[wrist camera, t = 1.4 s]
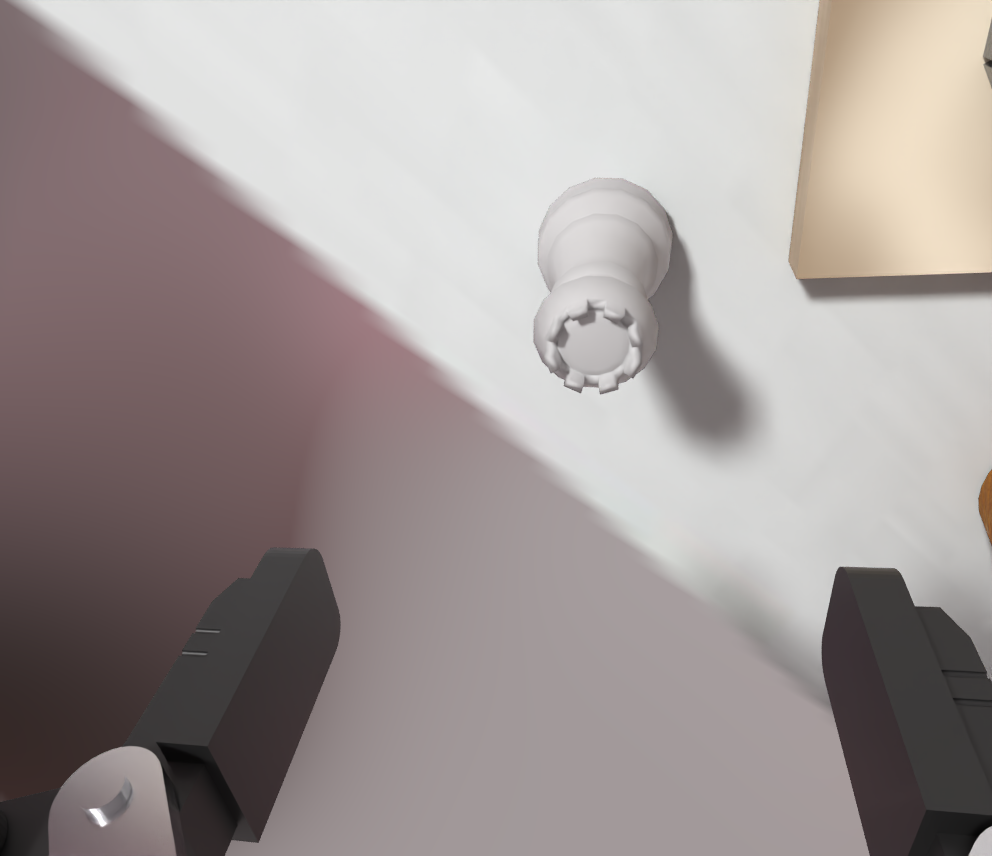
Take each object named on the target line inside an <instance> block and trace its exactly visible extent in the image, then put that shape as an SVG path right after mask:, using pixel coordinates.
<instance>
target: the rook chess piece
mask: <svg viewBox="0 0 992 856" xmlns="http://www.w3.org/2000/svg"><path fill="white" fill-rule="evenodd" d="M672 237H673V234H672V231H671V227H670V224H669V221H668V218H667V214H666V211H665V209H664V208H663V207H662V206H661V205H660V204H659V202H658V201H657V200H656V199H655V198H654V197H653V196H652V195H651V193H650V192H649V191H648V190H646V189H644V188H642V187H640V186H638V185H636V184H633V183H631V182H629V181H627V180H625V179H619V178H593V179H591V180H588V181H585V182H583V183H580V184H577V185H575V186H572V187H570V188H568V189H567V190H566V191H565V192H564V193H563V194H562V195H561V196H560V197H559V198H558V199H557V200H555V201H554V202H553V203H552V204H551V205H550V206H549V208H548V211H547V213H546V215H545V217H544V220H543V222H542V224H541V226H540V229H539V239H538V266H539V268H540V271H541V273H542V276H543V278H544V281H545V283H546V285H547V288H548V290H549V291H550V292H551V293H550V294H549V295H548V296H547V297H546V298H545V299H544V300H543V302H542V304H541V306H540V308H539V310H538V312H537V314H536V316H535V318H534V344H535V346H536V348H537V351H538V353H539V355H540V358H541V360H542V362H543V363H544V364H545V365H546V366H547V367H548V368H549V371H550V373H553V372H554V373H555V374H556V375H557V376H558V377H559V378H562V379H564V380H565V381H564V386H565V387H567V388H570V389H572V390H574V391H577V392H579V393H581V391H582V388H583V387H598V388H599V392H600V394H604V393H607V392H611V391H615V390H618V384H619V383H623V382H626V381H627V380H629V379H630V378H634V376H635V375H636V374H637V373H638V372H640V371H641V370H643V369H644V368H645V367H646V365H647V363H648V362H649V360H650V358H651V357H652V355H653V353H654V352H655V350H656V348H657V339H658V331H659V325H658V322H657V319H656V316H655V313H654V310H653V307H652V305H651V304H650V303H649V301H648V299H649V298H650V297H651V296H653V295H654V294H655V292H656V291H657V289H658V287H659V286H660V284H661V282H662V280H663V279H664V277H665V275H666V273H667V272H668V270H669V262H670V254H671V246H672Z"/></svg>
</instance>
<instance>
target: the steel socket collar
mask: <svg viewBox="0 0 992 856" xmlns="http://www.w3.org/2000/svg"><path fill="white" fill-rule="evenodd" d="M983 57H985V58H987V59H990V61H988V62H986V63H984V64H983V66H984V68H985V71H986V74H987V77H988V79H989V82H990V85H991V88H992V19H991V23H990V28H989V32H988V36H987V41H986V45H985V49H984V53H983Z"/></svg>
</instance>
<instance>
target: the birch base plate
mask: <svg viewBox="0 0 992 856" xmlns="http://www.w3.org/2000/svg"><path fill="white" fill-rule="evenodd" d="M991 19H992V0H820V2H819V10H818V18H817V27H816V35H815V43H814V52H813V60H812V69H811V77H810V85H809V94H808V102H807V110H806V119H805V127H804V136H803V144H802V152H801V161H800V169H799V177H798V186H797V194H796V203H795V211H794V219H793V228H792V236H791V244H790V253H789V263H790V266H791V268H792V270H793V272H794V275H795V277H796V279H811V278H840V277H870V276H899V275H928V274H957V273H987V272H992V88H991V85H990V82H989V79H988V77H987V74H986V71H985V68H984V66H983V64H984V63H986V62H988V61H990V59H987V58H985V57H983V53H984V49H985V45H986V41H987V36H988V32H989V28H990V23H991Z"/></svg>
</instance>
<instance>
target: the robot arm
mask: <svg viewBox="0 0 992 856" xmlns="http://www.w3.org/2000/svg"><path fill="white" fill-rule="evenodd" d="M339 636H340V614H339V610H338V606H337V603H336V600H335V597H334V594H333V591H332V587H331V584H330V581H329V578H328V574H327V571H326V568H325V565H324V562H323V558H322V556H321V554H320V552H319V551H318V550H316V549H304V548H270V549H269V550H268V551H267V552H266V553H265V554H264V556H263V558H262V559H261V561H260V563H259V564H258V566H257V568H256V570H255V571H254V573H253V575H252V577H251V578H250V579H247V578H238V579H237V580H236V581H235V582H233V583H232V584H231V585H230V586H229V587H228V588H227V589H226V590H224V591H223V592H222V593H221V594H220V595H219V596H218V597H217V598H215V599H214V600H213V601H212V603H211V604H210V606H209V608H208V609H207V611H206V612H205V614H204V616H203V617H202V619H201V620H200V622H199V624H198V626H197V627H196V633H195V634H194V633H193V634H192V635H191V637H190V638H189V640H188V642H187V643H186V645H185V647H184V648H183V650H182V651H183V653H182V656H178V658H177V660H176V661H175V663H174V664H173V666H172V668H171V669H170V671H169V673H168V674H167V676H166V677H165V679H164V681H163V682H162V684H161V686H160V687H159V689H158V690H157V692H156V694H155V695H154V697H153V699H152V700H151V702H150V703H149V705H148V707H147V709H146V710H145V711H144V713H143V715H142V716H141V718H140V720H139V721H138V723H137V725H136V726H135V728H134V729H133V731H132V733H131V734H130V736H129V737H128V739H127V740H126V742H125V743H124V745H123V746H122V747H120V748H116V749H113V750H110V751H107V752H105V753H102V754H100V755H98V756H96V757H95V758H93V759H91V760H90V761H88V762H87V763H85V764H84V765H83V766H81V767H80V768H79V769H78V770H77V771H75V772H74V774H73V775H72V776H71V777H70V778H69V779H68V780H67V781H66V782H65V784H64V785H63V786H62V787H61V788H58V789H54V790H50V791H46V792H41V793H38V794H33V795H29V796H25V797H20V798H16V799H12V800H8V801H3V802H0V856H225V853H226V851H227V849H228V846H229V844H230V842H231V840H239V841H247V842H257V843H258V842H259V840H260V838H261V835H262V832H263V830H264V828H265V825H266V823H267V820H268V818H269V815H270V813H271V810H272V808H273V806H274V803H275V800H276V798H277V795H278V793H279V791H280V788H281V786H282V783H283V781H284V778H285V776H286V773H287V771H288V768H289V766H290V763H291V761H292V758H293V756H294V754H295V751H296V748H297V746H298V743H299V741H300V739H301V736H302V734H303V731H304V729H305V726H306V724H307V721H308V719H309V716H310V714H311V711H312V709H313V706H314V704H315V701H316V699H317V696H318V694H319V692H320V689H321V686H322V684H323V682H324V679H325V677H326V674H327V672H328V669H329V667H330V664H331V662H332V659H333V657H334V654H335V652H336V649H337V646H338V642H339ZM822 666H823V673H824V678H825V683H826V687H827V691H828V694H829V698H830V702H831V706H832V710H833V714H834V718H835V722H836V726H837V730H838V733H839V737H840V741H841V745H842V749H843V753H844V757H845V761H846V765H847V768H848V772H849V775H850V780H851V784H852V788H853V792H854V796H855V799H856V804H857V807H858V811H859V815H860V819H861V823H862V827H863V831H864V835H865V839H866V842H867V846H868V850H869V854H870V856H992V682H991V680H990V679H988V678H987V671H986V669H985V667H984V665H983V663H982V661H981V659H980V657H979V655H978V652H977V650H976V648H975V646H974V644H973V642H972V640H971V638H970V637H969V636H968V635H967V634H966V633H965V632H964V631H963V630H962V629H961V628H960V627H959V626H958V625H957V624H956V623H955V622H954V621H953V620H952V619H951V618H950V617H949V616H948V615H947V614H946V613H945V612H944V611H943V610H942V609H941V608H940V607H916V606H914V604H913V601H912V599H911V596H910V594H909V591H908V589H907V587H906V584H905V582H904V579H903V577H902V575H901V574H900V572H899V571H898V570H897V569H895V568H865V567H839V568H838V570H837V572H836V575H835V579H834V584H833V589H832V593H831V598H830V603H829V608H828V612H827V617H826V622H825V627H824V631H823V637H822Z"/></svg>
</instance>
